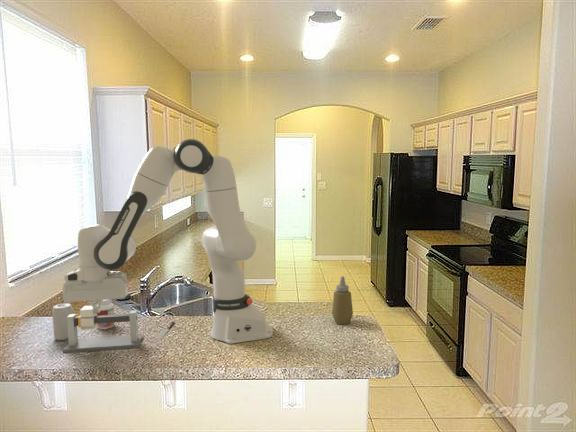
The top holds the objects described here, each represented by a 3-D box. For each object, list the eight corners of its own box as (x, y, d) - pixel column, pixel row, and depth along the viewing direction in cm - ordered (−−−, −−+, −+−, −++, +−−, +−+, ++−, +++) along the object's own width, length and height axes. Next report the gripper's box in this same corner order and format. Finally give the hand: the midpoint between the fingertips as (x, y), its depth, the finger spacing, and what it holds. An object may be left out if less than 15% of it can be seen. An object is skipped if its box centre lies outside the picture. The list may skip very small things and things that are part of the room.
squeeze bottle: (329, 324, 166) (329, 278, 164) (335, 317, 173) (335, 273, 171) (349, 327, 163) (350, 280, 161) (355, 320, 170) (355, 275, 168)
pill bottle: (93, 328, 165) (91, 300, 164) (105, 323, 171) (104, 295, 170) (106, 330, 163) (104, 301, 162) (118, 325, 168) (116, 297, 167)
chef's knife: (149, 344, 151) (157, 343, 151) (149, 341, 151) (157, 340, 151) (167, 324, 170) (175, 323, 170) (167, 321, 170) (175, 320, 170)
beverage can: (69, 333, 161) (67, 301, 159) (77, 337, 157) (75, 304, 155) (51, 338, 156) (48, 305, 154) (59, 342, 152) (56, 309, 150)
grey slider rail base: (143, 337, 156) (141, 307, 155) (138, 347, 147) (136, 315, 146) (72, 341, 152) (69, 311, 151) (62, 352, 143) (60, 320, 142)
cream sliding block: (97, 324, 151) (96, 305, 150) (93, 329, 146) (92, 309, 146) (85, 325, 150) (84, 306, 149) (81, 330, 146) (79, 310, 145)
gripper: (128, 268, 151) (130, 307, 153) (65, 272, 148) (69, 311, 150) (124, 273, 145) (127, 313, 146) (59, 276, 142) (62, 317, 143)
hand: (97, 312), depth 148 cm, fingers closed
